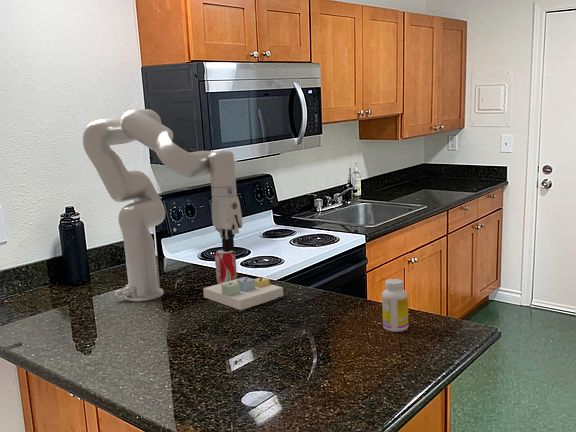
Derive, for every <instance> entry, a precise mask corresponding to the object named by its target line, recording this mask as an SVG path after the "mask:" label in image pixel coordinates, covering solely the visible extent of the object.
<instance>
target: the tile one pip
mask: <svg viewBox="0 0 576 432" xmlns="http://www.w3.org/2000/svg"><path fill="white" fill-rule="evenodd" d="M221 286H222V294H223V295H226V296H229V297H230V296H234V295H237V294H240V286H239V284H238V283H234V282H229V283H225V284H222V285H221Z"/></svg>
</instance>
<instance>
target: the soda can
mask: <svg viewBox="0 0 576 432" xmlns="http://www.w3.org/2000/svg"><path fill="white" fill-rule="evenodd" d="M214 258H215V259H214V261H215V262H214V263H215V265H214V266H215V272H216V273H215V275H216V283H217V284H221V283H224V282H228V281H232V280H235V279H238V276H237V275H238V271H237V261H236V260H237V259H236V254H235V253H234V250H233V251H229V252H224V251H223V248H221V249H219V250H216V254H215V255H214Z"/></svg>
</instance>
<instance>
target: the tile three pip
mask: <svg viewBox="0 0 576 432" xmlns="http://www.w3.org/2000/svg"><path fill="white" fill-rule="evenodd" d="M253 279H254V280H255V286H256V287H259V288H261V287H264V286H267V285H270V284H271V283H270V279H269V278H267V277H263V276H261V277H258V278H253Z"/></svg>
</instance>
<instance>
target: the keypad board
mask: <svg viewBox="0 0 576 432" xmlns="http://www.w3.org/2000/svg"><path fill="white" fill-rule="evenodd" d="M244 278H250V279H252V278H251V277H247V276H243V277H239V278H237V279H235V280H232V281H228V282H224V283H221V284H218V283H217V284H214V285H211V286H210V285H209V286H206V287H203V298H205V299H208V300H210V301H213V302H216V303H220V304H223V305H225V306H228V307H231V308H233V309H236V310H239V311H242V310H246V309H249V308H253V307H255V306H258V305H261V304H265V303H268V302H270V300H271V301H274V300H277V299H279V298H278V297H281V296H283V297H284V287H282V286H278V285H275V284H271V283H270V285H267V286H264V287H261V288H259V287H256V286H255V289H254V290H251V291H247V292H243V291H240V294H237V295H234V296H230V297H229V296H226V295H223V294H222V286H221V285H222V284H225V283H229V282H234V283H237V280H240V279H244ZM276 298H277V299H276ZM281 298H282V297H281ZM273 299H274V300H273Z"/></svg>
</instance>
